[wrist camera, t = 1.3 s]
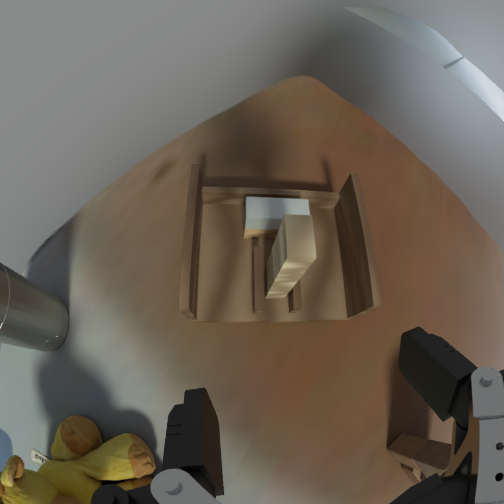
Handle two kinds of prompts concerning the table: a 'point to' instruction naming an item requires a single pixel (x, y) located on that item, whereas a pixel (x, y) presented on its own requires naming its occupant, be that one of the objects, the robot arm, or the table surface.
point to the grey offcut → (272, 211)
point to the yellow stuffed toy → (77, 466)
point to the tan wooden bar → (289, 255)
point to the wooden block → (420, 456)
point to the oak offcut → (260, 233)
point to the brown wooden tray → (257, 253)
